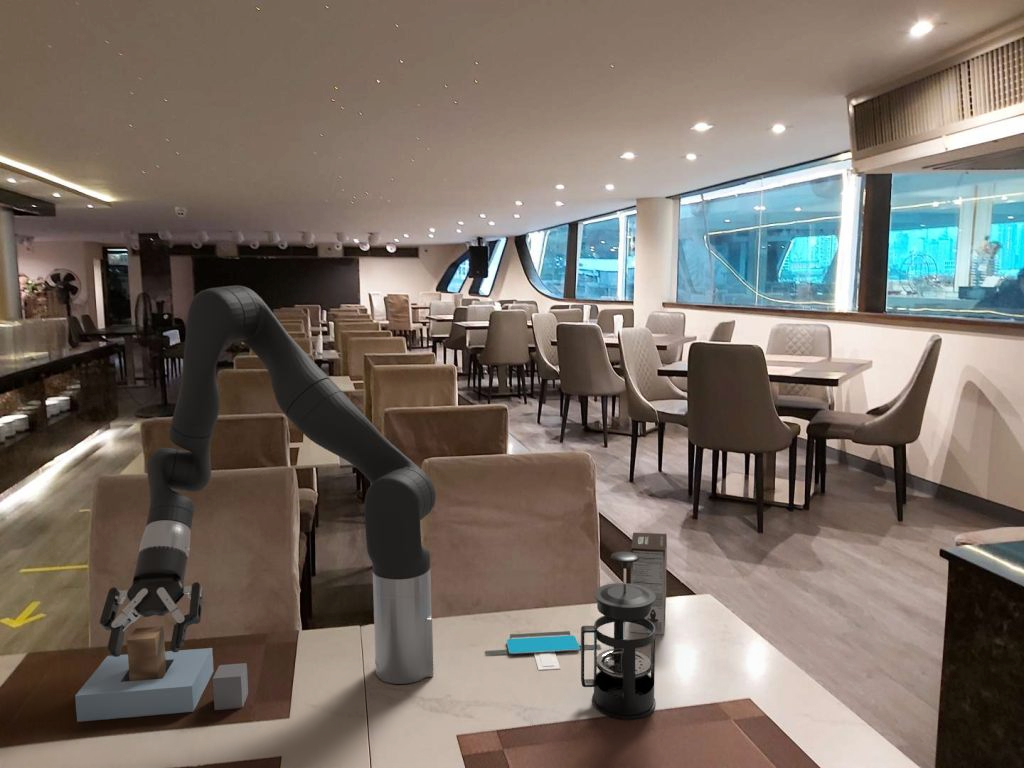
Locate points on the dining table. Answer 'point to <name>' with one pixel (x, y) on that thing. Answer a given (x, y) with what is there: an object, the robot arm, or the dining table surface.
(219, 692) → the grey upright block
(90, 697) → the blue-grey flat frame
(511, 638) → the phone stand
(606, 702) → the french press
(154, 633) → the walnut pin
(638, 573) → the coffee box
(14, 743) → the dining table surface
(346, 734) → the dining table surface
